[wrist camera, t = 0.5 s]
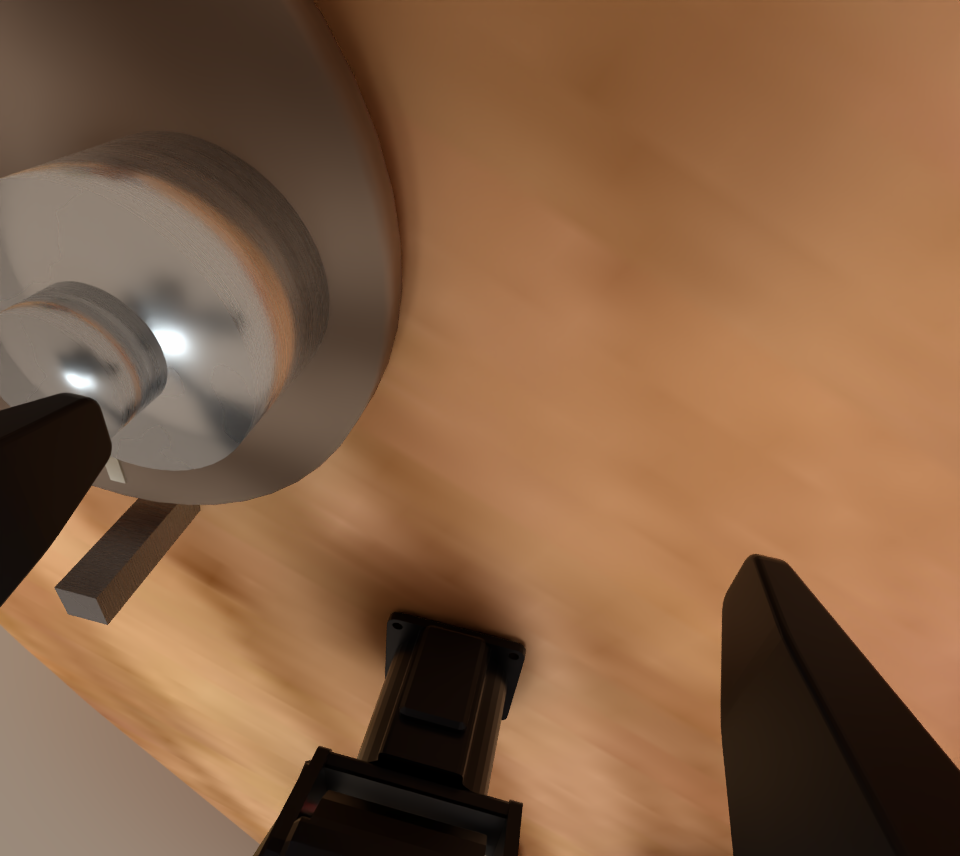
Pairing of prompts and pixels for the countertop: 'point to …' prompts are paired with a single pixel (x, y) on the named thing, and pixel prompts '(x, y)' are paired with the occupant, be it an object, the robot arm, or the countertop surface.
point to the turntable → (255, 139)
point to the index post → (123, 559)
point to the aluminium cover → (157, 293)
